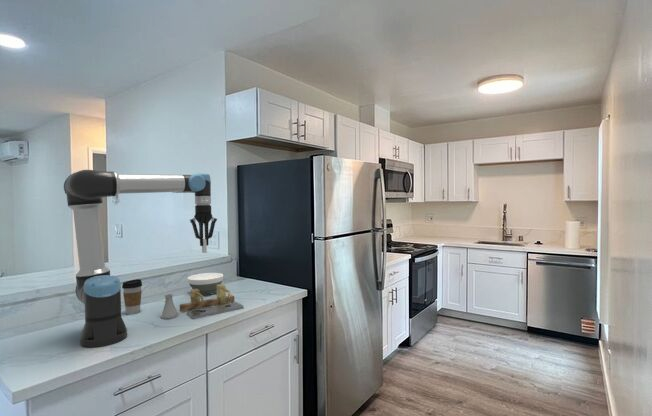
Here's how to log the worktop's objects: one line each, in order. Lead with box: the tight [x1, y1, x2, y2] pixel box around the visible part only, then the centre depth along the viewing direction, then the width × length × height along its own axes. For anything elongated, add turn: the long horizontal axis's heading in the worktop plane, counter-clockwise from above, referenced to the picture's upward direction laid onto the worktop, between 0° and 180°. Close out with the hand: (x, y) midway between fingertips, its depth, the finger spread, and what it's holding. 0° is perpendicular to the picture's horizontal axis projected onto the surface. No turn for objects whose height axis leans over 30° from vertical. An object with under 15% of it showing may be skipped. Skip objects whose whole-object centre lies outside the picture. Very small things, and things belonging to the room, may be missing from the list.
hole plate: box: [186, 301, 245, 320], centre depth 167 cm, size 24×9×1 cm, turn 126°
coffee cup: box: [121, 278, 143, 315], centre depth 168 cm, size 8×8×15 cm
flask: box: [160, 293, 179, 320], centre depth 160 cm, size 7×7×10 cm
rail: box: [179, 288, 235, 313], centre depth 172 cm, size 26×14×9 cm, turn 126°
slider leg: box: [216, 283, 231, 305], centre depth 176 cm, size 3×14×9 cm, turn 36°
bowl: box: [187, 272, 224, 296], centre depth 203 cm, size 20×20×10 cm
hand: (204, 252), depth 175 cm, fingers closed
